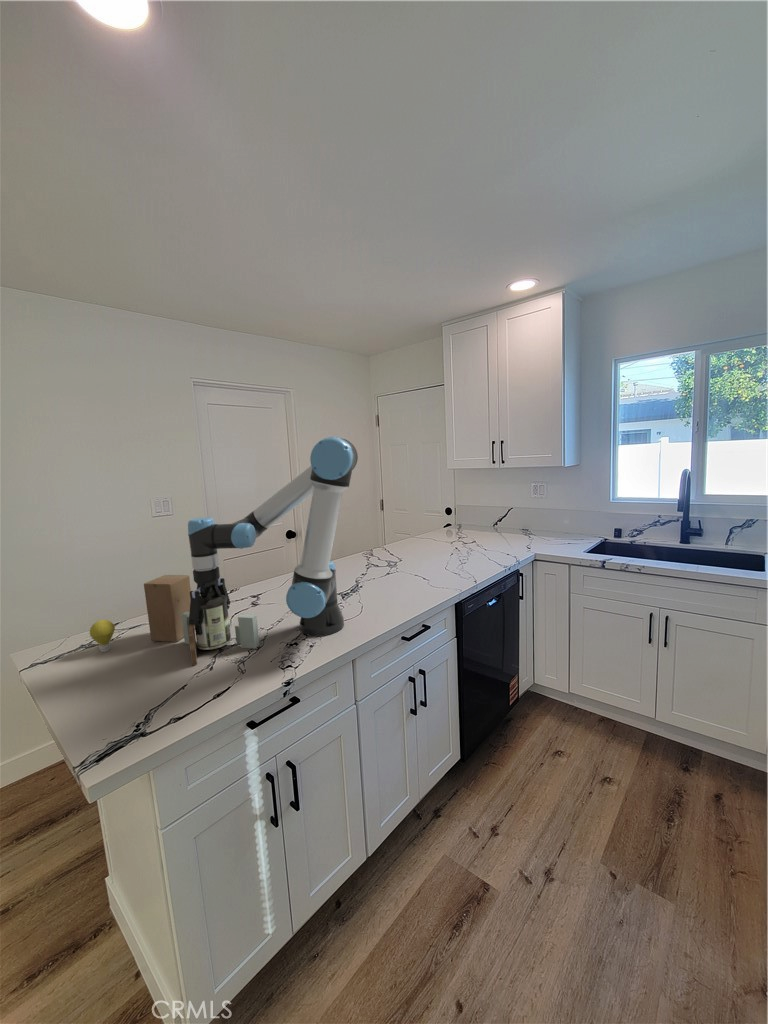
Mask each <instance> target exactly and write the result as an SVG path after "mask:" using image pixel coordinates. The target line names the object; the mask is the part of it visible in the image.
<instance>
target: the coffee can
mask: <svg viewBox="0 0 768 1024" xmlns="http://www.w3.org/2000/svg"><path fill="white" fill-rule="evenodd" d="M201 598H202V597H201ZM203 599H205V598H203ZM202 609H203V613H204V618H203V623H205V629H206V638H207V643H206V644H198V641H197V635H196V634H195V638H196V648H197V649H200V650H205V651H206V650H208V651H209V650H215V649H219V648H221V647H225V646H226V645H228V644H229V643H231V641H232V637H231V635H232V634H231V625H230V619H229V609H228V607H227V597H226V596H224V595H221V597H212V596H211V597H210V598H209V601H208V602H207V604H206V605H204V606H200V609H199V610H202Z"/></svg>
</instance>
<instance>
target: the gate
mask: <svg viewBox="0 0 768 1024" xmlns="http://www.w3.org/2000/svg"><path fill="white" fill-rule="evenodd" d="M189 643H190V644H189V650H190V658H191V660H190V661H191V665H192V666H195V665H197V663H198V662H197V659H198V658H197V639H196V631H195V629H194V625H191V624H189Z"/></svg>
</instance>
